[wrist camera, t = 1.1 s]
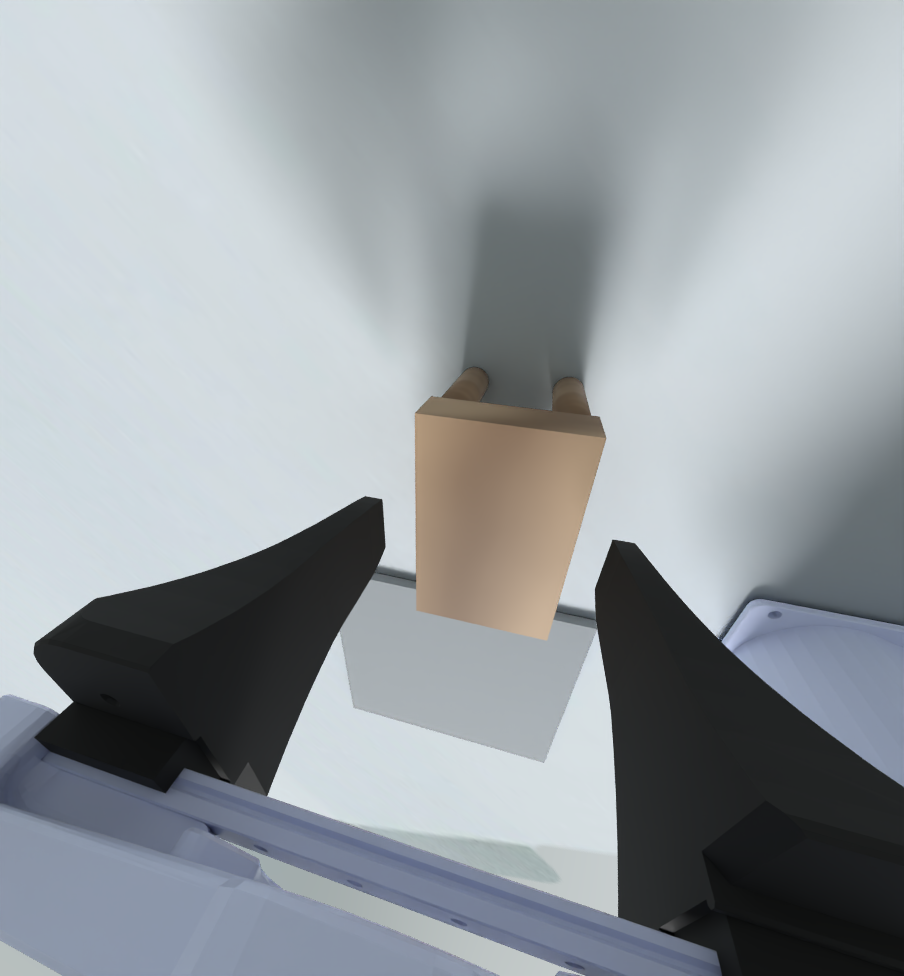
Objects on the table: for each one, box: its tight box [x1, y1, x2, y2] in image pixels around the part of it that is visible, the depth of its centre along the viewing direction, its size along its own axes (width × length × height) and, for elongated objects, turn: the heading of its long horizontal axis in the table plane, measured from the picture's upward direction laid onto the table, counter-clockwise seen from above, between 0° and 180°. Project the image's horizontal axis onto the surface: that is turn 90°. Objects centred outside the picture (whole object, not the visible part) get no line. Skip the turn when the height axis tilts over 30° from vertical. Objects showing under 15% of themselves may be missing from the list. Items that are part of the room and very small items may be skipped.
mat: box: [340, 573, 597, 763], centre depth 26 cm, size 16×16×1 cm
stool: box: [415, 367, 606, 641], centre depth 14 cm, size 5×8×6 cm, turn 178°
